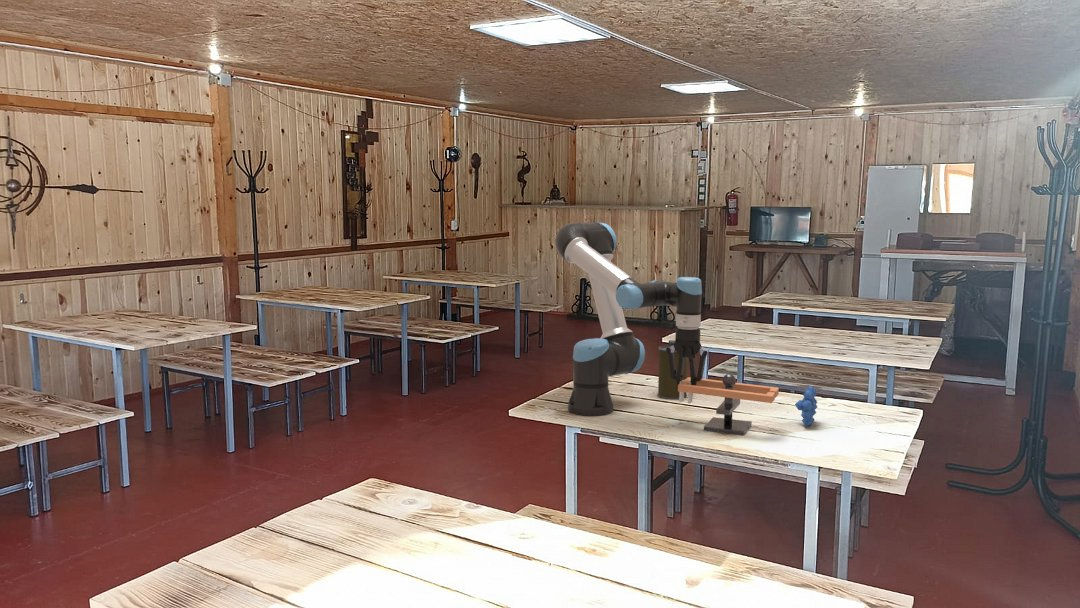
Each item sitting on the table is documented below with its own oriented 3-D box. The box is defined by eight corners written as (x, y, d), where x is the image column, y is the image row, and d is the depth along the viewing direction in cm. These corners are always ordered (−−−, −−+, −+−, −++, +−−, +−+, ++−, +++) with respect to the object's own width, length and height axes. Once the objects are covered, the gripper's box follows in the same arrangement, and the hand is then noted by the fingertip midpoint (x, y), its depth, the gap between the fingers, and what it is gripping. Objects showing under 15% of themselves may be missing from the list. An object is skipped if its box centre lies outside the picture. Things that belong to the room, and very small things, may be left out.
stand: (702, 431, 238) (703, 377, 236) (714, 419, 251) (715, 367, 249) (742, 436, 233) (744, 380, 231) (752, 423, 246) (754, 371, 244)
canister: (689, 399, 278) (690, 343, 275) (659, 399, 278) (660, 343, 275) (684, 392, 288) (685, 338, 286) (655, 392, 288) (656, 338, 286)
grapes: (797, 418, 252) (799, 381, 251) (819, 421, 249) (821, 383, 247) (790, 427, 242) (792, 389, 240) (813, 430, 239) (815, 391, 237)
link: (677, 391, 241) (678, 385, 241) (688, 383, 252) (688, 377, 252) (771, 403, 229) (772, 396, 229) (778, 394, 240) (778, 387, 240)
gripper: (660, 327, 244) (658, 401, 247) (709, 331, 237) (706, 407, 240) (667, 324, 250) (665, 396, 253) (715, 327, 244) (712, 401, 247)
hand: (685, 401), depth 247 cm, fingers closed on link, 2 cm apart
